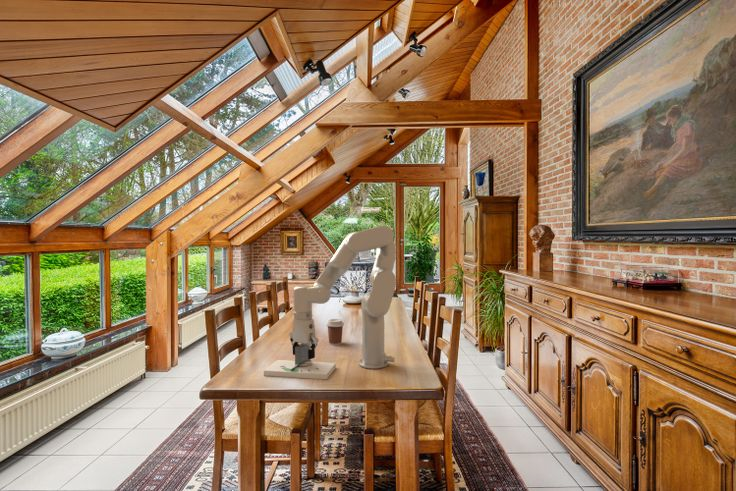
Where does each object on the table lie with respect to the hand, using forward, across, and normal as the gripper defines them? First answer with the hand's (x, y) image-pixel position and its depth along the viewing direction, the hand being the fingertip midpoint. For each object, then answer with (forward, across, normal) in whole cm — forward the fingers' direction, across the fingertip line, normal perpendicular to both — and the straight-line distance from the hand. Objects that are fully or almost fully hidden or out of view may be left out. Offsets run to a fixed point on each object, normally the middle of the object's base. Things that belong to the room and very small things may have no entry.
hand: (303, 356), depth 169 cm
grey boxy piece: (+3, -1, +3) cm, 4 cm away
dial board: (+5, -1, +3) cm, 6 cm away
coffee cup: (+6, +18, -37) cm, 41 cm away
